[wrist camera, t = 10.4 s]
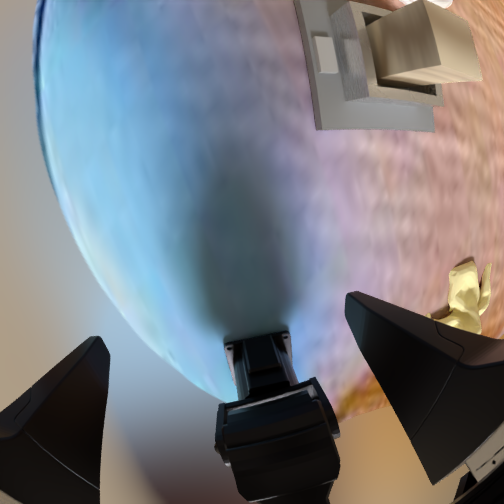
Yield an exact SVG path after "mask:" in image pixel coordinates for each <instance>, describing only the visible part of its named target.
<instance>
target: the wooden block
mask: <svg viewBox="0 0 504 504" xmlns="http://www.w3.org/2000/svg"><path fill="white" fill-rule="evenodd" d="M366 30H367V34H368V38H369V43H370V47H371V52H372V57H373V62H374V67H375V73H376V79H377V85H380V86H389V87H396V88H407V87H414V86H422V85H430V84H440V83H452V82H468V81H483V80H482V74H481V69H480V65H479V60H478V56H477V52H476V48H475V44H474V41H473V37H472V34H471V30H470V27H469V24H468V21H467V20H465V19H463V18H461V17H460V16H458V15H456V14H454V13H452V12H450V11H448V10H446V9H444V8H442V7H440V6H438V5H436V4H434V3H432V2H430V1H427V0H417V1H415V2H412V3H410V4H408V5H406V6H404V7H402V8H400V9H398V10H396V11H394V12H392V13H390V14H388V15H386V16H384V17H382V18H380V19H378V20H376V21H374V22H373V23H371V24H369V25H367V26H366Z"/></svg>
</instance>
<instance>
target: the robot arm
mask: <svg viewBox="0 0 504 504" xmlns="http://www.w3.org/2000/svg"><path fill="white" fill-rule="evenodd" d="M345 317H346V320H347V322H348V324H349V326H350V329H351V331H352V333H353V335H354V338H355V340H356V342H357V345H358V347H359V349H360V351H361V353H362V355H363V356H364V358H365V360H366V361H367V363H368V365H369V367H370V368H371V370H372V372H373V374H374V375H375V377H376V379H377V381H378V382H379V384H380V386H381V388H382V389H383V391H384V393H385V395H386V397H387V398H388V400H389V402H390V404H391V406H392V407H393V409H394V411H395V413H396V415H397V417H398V418H399V420H400V422H401V424H402V426H403V428H404V430H405V432H406V434H407V436H408V437H409V439H410V440H411V444H412V446H413V447H414V449H415V451H416V453H417V455H418V457H419V459H420V461H421V463H422V465H423V467H424V469H425V471H426V473H427V475H428V478H429V480H430V482H431V483H432V485H435V484H437V483H438V482H440V481H441V480H443V479H444V478H446V477H447V476H448V475H450V474H451V473H453V472H454V471H456V470H457V469H458V468H460V467H461V466H462V465H464V464H466V465H467V467H468V468H469V470H470V471H469V472H468V473H466V474H465V475H464V476H463V477H461V479H460V482H459V486H458V489H457V492H456V495H455V498H454V501H453V502H452V503H450V504H504V339H494V338H490V337H487V336H483V335H479V334H476V333H472V332H469V331H465V330H462V329H459V328H455V327H452V326H450V325H447V324H444V323H441V322H439V321H436V320H435V321H434V320H433V319H431V318H428V317H425V316H423V315H420V314H417V313H415V312H412V311H409V310H407V309H404V308H401V307H399V306H396V305H393V304H391V303H388V302H385V301H383V300H380V299H378V298H375V297H372V296H370V295H367V294H364V293H362V292H359V291H354V292H350V293H347V294H346V299H345ZM286 335H287V336H286ZM284 336H286V337H284ZM228 347H231V348H228ZM224 350H225V353H226V357H227V360H228V364H229V367H230V371H231V374H232V378H233V381H234V384H235V385H236V387H237V393H238V400H239V401H234V402H230V403H221V404H219V408H218V412H217V422H216V433H215V442H216V443H215V446H214V448H215V451H216V452H217V453H219V454H220V455H221V457H222V459H223V461H224V463H225V464H226V466H228V467H231V468H232V471H233V474H234V477H235V480H236V485H237V488H238V492H239V493H240V494H241V495H242V496H243V497H244V498H245V499H246V500H247V501H248V502H254V501H256V502H257V503H259V504H330V502H329V499H328V497H329V494H330V491H331V488H332V486H333V483H334V480H337V478H338V475H339V470H340V457H339V454H338V451H337V448H336V445H335V442H334V439H336V438H339V437H340V430H339V426H338V422H337V419H336V416H335V413H334V411H333V408H332V406H331V404H330V402H329V400H328V398H327V397H326V395H325V393H324V391H323V390H322V388H321V386H320V384H319V383H318V381H317V379H316V377H313V378H310V379H309V380H307V381H304V382H301V383H299V382H298V380H297V377H296V374H295V372H294V369H293V366H292V349H291V336H290V333H289V332H288V331H283V332H278V333H274V334H269V335H264V336H259V337H254V338H249V339H244V340H239V341H233V342H228V343H226V344H225V345H224ZM109 370H110V353H109V351H108V349H107V347H106V345H105V344H104V342H103V340H102V338H101V337H100V336H91V337H89V338H88V339H87V340H85V341H84V342H83V343H82V344H80V345H79V346H78V347H77V348H76V349H74V350H73V351H72V352H71V353H70V354H69V355H67V356H66V357H65V358H64V359H63V360H61V361H60V362H59V363H58V364H57V365H56V366H54V367H53V368H52V369H51V370H50V371H49V372H47V373H46V374H45V375H44V376H43V377H42V378H40V380H38V381H37V382H36V383H35V384H34V385H33V386H32V388H31V387H30V388H29V389H28V390H27V391H26V392H25V393H23V394H22V395H21V396H20V397H19V398H18V399H16V400H15V401H14V402H13V403H11V405H9V406H8V407H6V408H5V409H4V410H3V411H1V412H0V504H100V490H99V489H100V466H101V450H102V438H103V428H104V419H105V411H106V404H107V397H108V387H109Z"/></svg>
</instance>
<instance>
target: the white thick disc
mask: <svg viewBox="0 0 504 504" xmlns="http://www.w3.org/2000/svg"><path fill="white" fill-rule="evenodd" d="M399 1H400V2H402V3H403V4H405V5H408V4H410V3H412V2H415V1H417V0H399ZM427 1H430V2H432V3H434V4H436V5H438V6H440V7H442V8H447V7H449V6H450V5H451V4H452V1H453V0H427Z"/></svg>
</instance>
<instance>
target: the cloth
mask: <svg viewBox="0 0 504 504" xmlns="http://www.w3.org/2000/svg"><path fill="white" fill-rule="evenodd" d="M491 264H492V263H488V264H487V265H486V267H485V270H484V272H483V275H482V286H481V289H480V288H479V284H478V275H477V269H476V265H475V264H474V262H473V261H470V262H467V263H465V264H462V265H460V266H457V267H455V268H453V269H452V270H451V272H450V274H449V282H450V286H449V293H448V303H449V305H450V310H449V312H450V311H452V310H453V311H452V313H451V314H450V315H449V316H448V317H446V318H443V319H440V320H436V319H433V320H434V321H435V320H436V321H439V322H441V323H444V324H447V325H450V326H452V327H455V328H459V329H462V330H465V331H469V332H472V333H476V334H480V333H481V329H482V328H481V322H480V317H479V316H480V315H481V314H482V313H483V312H484V311H485V310H486V308H487V306H488V304H489V301H490V296H491V288H490V270H491ZM425 317H428V318H431V315H430V313H428V314H427V315H425ZM431 319H432V318H431Z"/></svg>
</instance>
